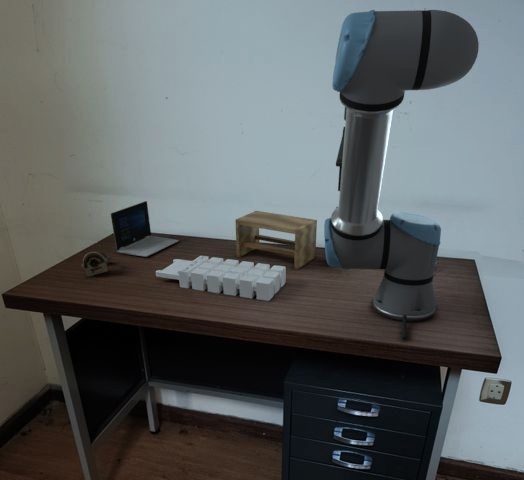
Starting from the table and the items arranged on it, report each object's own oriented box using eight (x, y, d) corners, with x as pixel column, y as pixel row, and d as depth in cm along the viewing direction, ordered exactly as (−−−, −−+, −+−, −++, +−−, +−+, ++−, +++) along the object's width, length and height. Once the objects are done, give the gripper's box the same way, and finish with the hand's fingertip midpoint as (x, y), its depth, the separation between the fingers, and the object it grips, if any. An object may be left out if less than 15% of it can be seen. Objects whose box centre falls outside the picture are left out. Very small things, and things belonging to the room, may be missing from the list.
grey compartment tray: (268, 284, 128) (152, 267, 139) (268, 301, 130) (154, 283, 142) (285, 266, 138) (176, 252, 150) (285, 282, 141) (177, 267, 152)
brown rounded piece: (67, 259, 143) (96, 254, 140) (89, 241, 153) (117, 236, 150) (78, 281, 147) (106, 277, 144) (99, 262, 157) (126, 258, 154)
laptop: (146, 258, 159) (141, 217, 152) (116, 252, 164) (109, 213, 157) (179, 242, 173) (175, 204, 166) (150, 237, 178) (146, 200, 171)
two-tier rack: (297, 269, 150) (298, 230, 144) (236, 256, 160) (235, 219, 154) (315, 257, 158) (317, 220, 152) (256, 246, 169) (255, 210, 163)
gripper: (363, 101, 144) (357, 177, 154) (326, 108, 125) (321, 193, 136) (388, 101, 140) (380, 179, 151) (353, 109, 122) (347, 197, 133)
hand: (352, 186), depth 144 cm, fingers open, 13 cm apart
